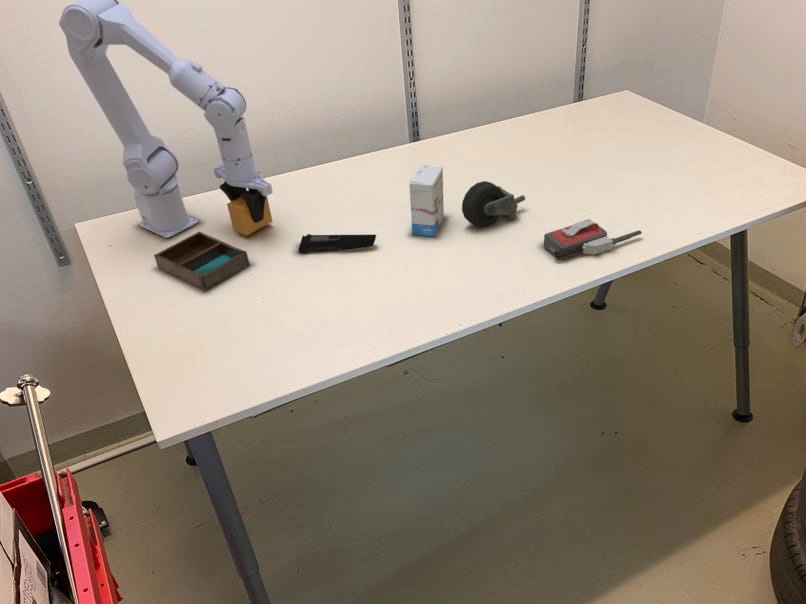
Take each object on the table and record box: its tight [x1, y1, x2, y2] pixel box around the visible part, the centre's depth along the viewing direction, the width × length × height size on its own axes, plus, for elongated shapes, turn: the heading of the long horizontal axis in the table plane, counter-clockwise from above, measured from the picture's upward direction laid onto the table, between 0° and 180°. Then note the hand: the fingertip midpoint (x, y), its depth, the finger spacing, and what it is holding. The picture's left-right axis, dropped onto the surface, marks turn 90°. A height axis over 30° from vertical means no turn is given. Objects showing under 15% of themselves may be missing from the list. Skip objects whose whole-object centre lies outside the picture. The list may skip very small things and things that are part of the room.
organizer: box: [153, 231, 250, 292], centre depth 138 cm, size 14×11×3 cm
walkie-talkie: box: [543, 218, 642, 260], centre depth 143 cm, size 9×4×20 cm
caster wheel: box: [461, 180, 526, 228], centre depth 149 cm, size 6×10×15 cm
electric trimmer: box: [297, 233, 377, 253], centre depth 143 cm, size 4×16×3 cm, turn 92°
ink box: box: [409, 164, 445, 238], centre depth 147 cm, size 8×5×12 cm, turn 168°
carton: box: [226, 196, 273, 236], centre depth 147 cm, size 4×7×6 cm, turn 145°
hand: (251, 217), depth 148 cm, fingers closed on carton, 4 cm apart
